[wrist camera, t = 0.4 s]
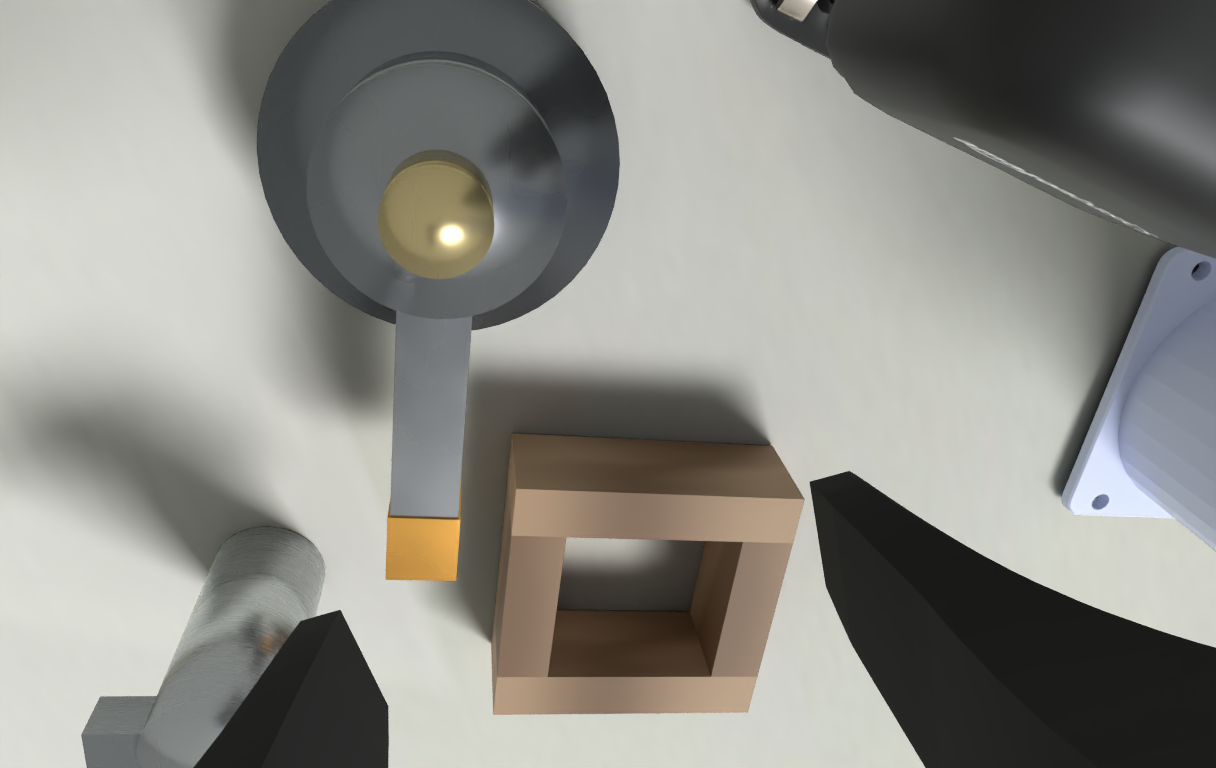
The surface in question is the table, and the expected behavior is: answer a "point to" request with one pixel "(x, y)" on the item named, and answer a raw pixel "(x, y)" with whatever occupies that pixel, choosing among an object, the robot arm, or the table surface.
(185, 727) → the key
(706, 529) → the holder
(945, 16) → the battery charger
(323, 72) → the base
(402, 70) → the collar
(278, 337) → the table surface
